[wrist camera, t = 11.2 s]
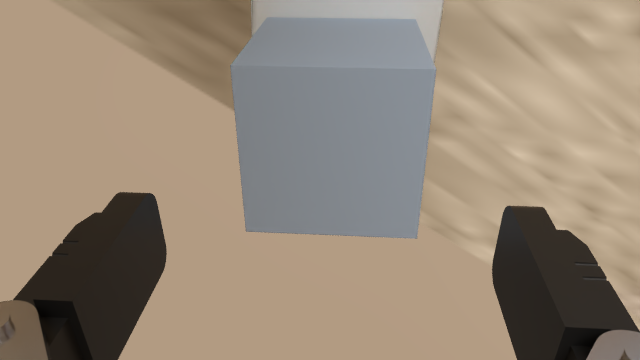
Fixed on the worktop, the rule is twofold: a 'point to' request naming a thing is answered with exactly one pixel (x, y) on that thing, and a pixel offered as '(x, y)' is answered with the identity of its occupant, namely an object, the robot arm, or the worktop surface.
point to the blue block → (333, 126)
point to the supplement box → (356, 13)
